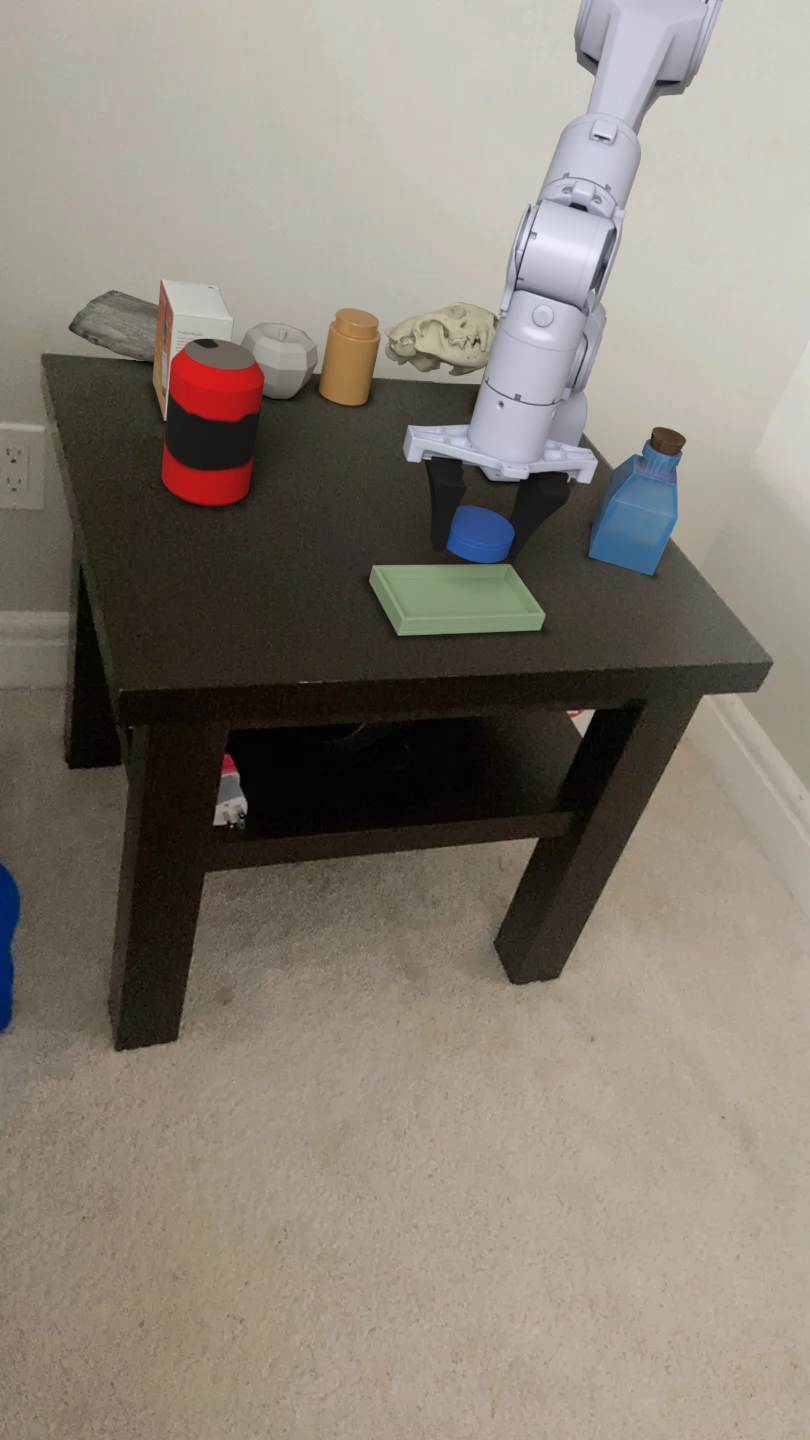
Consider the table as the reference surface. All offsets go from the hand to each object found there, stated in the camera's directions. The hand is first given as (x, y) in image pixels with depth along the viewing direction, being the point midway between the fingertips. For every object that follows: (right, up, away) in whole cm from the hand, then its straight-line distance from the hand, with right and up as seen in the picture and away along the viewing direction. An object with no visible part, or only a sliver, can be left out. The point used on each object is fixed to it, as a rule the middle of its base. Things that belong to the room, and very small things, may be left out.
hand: (472, 549), depth 83 cm
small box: (-27, +17, +20) cm, 37 cm away
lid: (0, +1, -1) cm, 2 cm away
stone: (-24, +24, +25) cm, 42 cm away
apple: (-19, +20, +26) cm, 38 cm away
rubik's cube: (+5, +21, +36) cm, 42 cm away
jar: (-12, +21, +29) cm, 38 cm away
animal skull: (-1, +24, +33) cm, 41 cm away
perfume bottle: (+15, +3, +17) cm, 23 cm away
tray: (-1, -4, +4) cm, 6 cm away
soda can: (-23, +7, +9) cm, 26 cm away
